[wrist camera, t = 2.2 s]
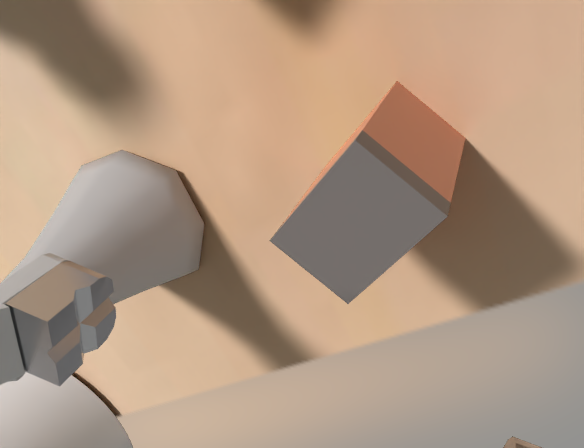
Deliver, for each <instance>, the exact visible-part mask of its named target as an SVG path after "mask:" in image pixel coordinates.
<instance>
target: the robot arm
mask: <svg viewBox="0 0 584 448" xmlns="http://www.w3.org/2000/svg"><path fill="white" fill-rule="evenodd" d="M113 292H114V288H113V281H112V279H110V278H108V277H106V276H104V275H102V274H100V273H97V272H95V271H93V270H90V269H88V268H86V267H83V266H81V265H79V264H76V263H74V262H72V261H69V260H66V259H64V258H62V257H59V256H57V255H54V254H52V253H48V254H43V255H41V256H39V257H38V258H36V259H35V260H33V261H32V262H30V263H29V264H27V265H26V266H25V267H23V268H22V269H20V270H19V271H17V272H16V273H14V274H13V275H12V276H10V277H9V278H7V279H6V280H4V281H3V282H1V283H0V448H133V446H132V444H131V441H130V439H129V437H128V435H127V433H126V432H125V430H124V428H123V427H122V425H121V423H120V422H119V421H118V419H117V418H116V417H115V415H114V414H113V413H112V412H111V410H110V409H109V408H108V407H107V406H106V405H105V404H104V403H103V402H102V401H101V400H100V398H99V397H98V396H96V395H95V394H94V393H93V392H92V391H91V390H90V389H89V388H88V387H86V386H85V385H84V384H83V383H81V382H80V381H79V380H78V379H76V378H75V377H73V376H72V374H73V373H74V372H75V371H76V370H77V369H78V368H79V367H80V366H81V365H82V364H83V358H84V353H87V352H90V351H93V350H96V349H98V348H99V347H100V346H101V345H102V344H103V343H104V342H105V341H106V340H107V338H108V336H109V335H110V333H111V331H112V329H113V327H114V323H115V319H116V310H115V306H114V305H113V303H112V302H111V300H110V299H109V296H110V295H111V294H112V293H113ZM22 375H23V377H21V378H20V379H19V380H18V381H10V380H13V379H15V378H17V377H20V376H22ZM8 381H9V382H8ZM503 448H542V447H539V446H536V445H534V444H531V443H528V442H526V441H523V440H520V439H518V438H515V437H511V438H510V439H508V441H507V442H506V444H505V445H504V447H503Z"/></svg>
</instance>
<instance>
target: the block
mask: <svg viewBox="0 0 584 448" xmlns="http://www.w3.org/2000/svg"><path fill="white" fill-rule="evenodd" d="M464 142H465V137H464V136H462V135H461V134H460V133H459V132H458V131H456V130H455V129H454V128H453V127H452V126H450V125H449V124H448V123H447V122H446V121H444V120H443V119H442V118H441V117H440V116H438V115H437V114H436V113H435V112H434V111H432V110H431V109H430V108H429V107H428V106H426V105H425V104H424V103H423V102H422V101H420V100H419V99H418V98H417V97H416V96H415V95H413V94H412V93H411V92H410V91H409V90H407V89H406V88H405V87H404V86H403V85H401V84H400V83H399V82H398V81H397V82H396V83H395V84H394V85H393V86H392V88H391V89H390V90H389V91H388V92H387V94H386V95H385V96H384V97H383V98H382V100H381V101H380V102H379V103H378V104H377V105H376V107H375V108H374V109H373V110H372V111H371V113H370V114H369V115H368V116H367V117H366V119H365V120H364V121H363V122H362V123H361V125H360V126H359V127H358V128H357V129H356V131H355V132H354V133H353V134H352V135H351V137H350V138H349V139H348V140H347V141H346V143H345V144H344V145H343V146H342V147H341V149H340V150H339V151H338V152H337V153H336V154H335V156H334V157H333V158H332V159H331V160H330V162H329V163H328V164H327V165H326V166H325V168H324V169H323V170H322V172H321V173H320V174H319V176H318V177H317V178H316V180H315V181H314V182H313V184H312V185H311V186H310V188H309V189H308V190H307V192H306V193H305V194H304V196H303V197H302V198H301V200H300V201H299V202H298V204H297V205H296V206H295V208H294V209H293V210H292V212H291V213H290V214H289V216H288V217H287V218H286V220H285V221H284V222H283V224H282V225H281V226H280V228H279V229H278V230H277V232H276V233H275V234H274V236H273V237H272V238H271V240H270V241H271V242H272V243H273V244H274V245H275V246H277V247H278V248H279V249H280V250H282V251H283V252H284V253H285V254H287V255H288V256H289V257H290V258H292V259H293V260H294V261H295V262H297V263H298V264H299V265H300V266H302V267H303V268H304V269H305V270H306V271H308V272H309V273H310V274H311V275H313V276H314V277H315V278H316V279H318V280H319V281H320V282H321V283H323V284H324V285H325V286H326V287H328V288H329V289H330V290H331V291H332V292H334V293H335V294H336V295H337V296H339V297H340V298H341V299H342V300H344V301H345V302H346V303H347V304H349V303H350V302H351V301H352V300H353V299H354V298H356V297H357V296H358V295H359V294H360V293H361V292H362V291H364V290H365V289H366V288H367V287H368V286H369V285H370V284H371V283H373V282H374V281H375V280H376V279H377V278H378V277H379V276H381V275H382V274H383V273H384V272H385V271H386V270H387V269H389V268H390V267H391V266H392V265H393V264H394V263H395V262H397V261H398V260H399V259H400V258H401V257H402V256H403V255H404V254H406V253H407V252H408V251H409V250H410V249H411V248H412V247H414V246H415V245H416V244H417V243H418V242H419V241H420V240H422V239H423V238H424V237H425V236H426V235H427V234H428V233H430V232H431V231H432V230H433V229H434V228H435V227H436V226H437V225H439V224H440V223H441V222H442V221H443V220H444V219H445V218H447V217H448V213H449V209H450V204H451V200H452V195H453V191H454V187H455V182H456V178H457V173H458V169H459V164H460V160H461V156H462V151H463V147H464Z"/></svg>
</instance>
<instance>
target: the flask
mask: <svg viewBox="0 0 584 448" xmlns="http://www.w3.org/2000/svg"><path fill="white" fill-rule="evenodd" d="M203 231H204V222H203V220H202V219H201V217H200V215H199V213H198V211H197V209H196V207H195V205H194V204H193V202H192V200H191V198H190V196H189V194H188V192H187V190H186V188H185V187H184V185H183V183H182V181H181V179H180V177H179V175H178V173H177V171H176V170H174V169H171V168H169V167H166V166H163V165H161V164H158V163H155V162H153V161H150V160H148V159H145V158H142V157H140V156H137V155H134V154H132V153H129V152H126V151H124V150H120V151H118V152H115V153H112V154H110V155H107V156H105V157H102V158H100V159H97V160H95V161H92V162H89V163H87V164H84V165H82V166H81V168H80V169H79V171H78V172H77V174H76V175H75V177H74V179H73V180H72V182H71V184H70V185H69V187H68V189H67V191H66V192H65V194H64V196H63V198H62V199H61V201H60V203H59V204H58V206H57V208H56V210H55V211H54V213H53V215H52V216H51V218H50V219H49V221H48V222H47V224H46V225H45V227H44V229H43V230H42V232H41V233H40V235H39V236H38V238H37V239H36V241H35V242H34V244H33V245H32V247H31V249H30V250H29V252H28V253H27V255H26V256H25V258H24V259H23V260H22V261H21V262H20V263H19V264H18V265H17V266H16V267H15V268H14V269H13V270H12V272H11V273H10V274H9V275H8V276H7V277H6V278H5V279H4V280H6V279H7V278H9V277H10V276H12V275H13V274H14V273H16V272H17V271H19V270H20V269H22V268H23V267H25V266H26V265H27V264H29V263H30V262H32V261H33V260H35V259H36V258H38V257H39V256H41V255H43V254H48V253H52V254H54V255H57V256H59V257H62V258H64V259H66V260H69V261H72V262H74V263H76V264H79V265H81V266H83V267H86V268H88V269H90V270H93V271H95V272H97V273H100V274H102V275H104V276H106V277H108V278H110V279H112V281H113V288H114V292H113V293H112V294H111V295H110V296H109V299H110V300H111V302H112V303H113V304H115V303H117V302H119V301H122V300H124V299H126V298H129V297H131V296H133V295H136V294H138V293H140V292H143V291H145V290H148V289H150V288H153V287H156V286H158V285H161V284H164V283H166V282H169V281H171V280H174V279H177V278H179V277H182V276H185V275H187V274H189V273H192V272H194V271H196V270H199V264H200V255H201V247H202V239H203ZM4 280H3V281H4ZM3 281H2V282H3ZM21 377H23V375H22V376H20V377H17V378H15V379H13V380H10V381H18V380H19V379H20V378H21ZM8 382H9V381H8Z"/></svg>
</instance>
